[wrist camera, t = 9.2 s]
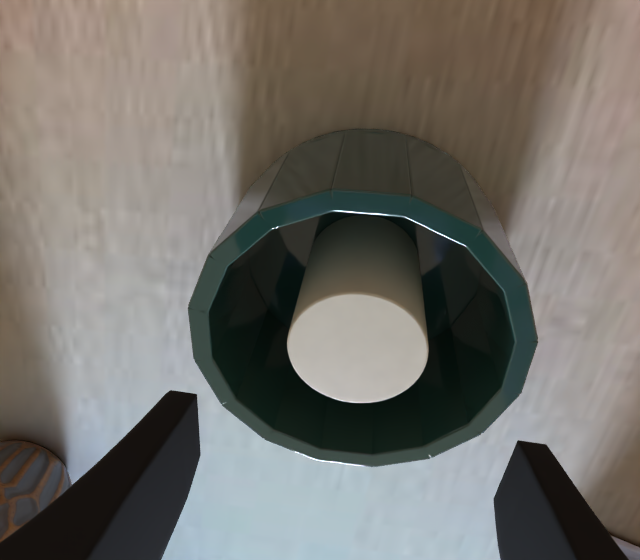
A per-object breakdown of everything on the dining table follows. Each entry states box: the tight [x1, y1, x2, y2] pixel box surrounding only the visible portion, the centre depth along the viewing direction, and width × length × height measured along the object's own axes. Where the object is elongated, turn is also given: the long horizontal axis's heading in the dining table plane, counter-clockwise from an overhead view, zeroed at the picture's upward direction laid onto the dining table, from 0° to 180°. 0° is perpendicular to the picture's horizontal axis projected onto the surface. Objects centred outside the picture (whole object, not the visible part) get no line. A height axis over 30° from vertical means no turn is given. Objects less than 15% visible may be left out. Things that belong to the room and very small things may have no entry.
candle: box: [287, 215, 429, 403], centre depth 17 cm, size 4×4×5 cm
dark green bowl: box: [188, 129, 538, 467], centre depth 17 cm, size 10×10×6 cm
